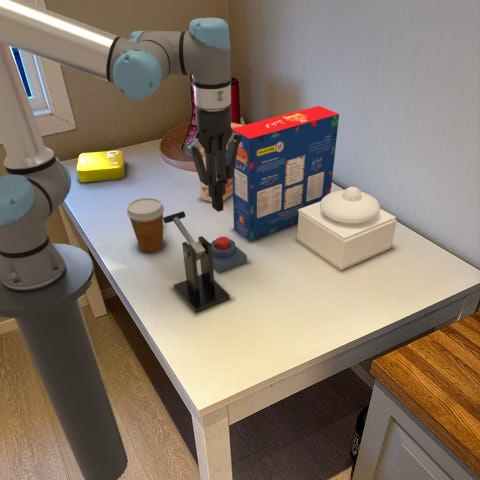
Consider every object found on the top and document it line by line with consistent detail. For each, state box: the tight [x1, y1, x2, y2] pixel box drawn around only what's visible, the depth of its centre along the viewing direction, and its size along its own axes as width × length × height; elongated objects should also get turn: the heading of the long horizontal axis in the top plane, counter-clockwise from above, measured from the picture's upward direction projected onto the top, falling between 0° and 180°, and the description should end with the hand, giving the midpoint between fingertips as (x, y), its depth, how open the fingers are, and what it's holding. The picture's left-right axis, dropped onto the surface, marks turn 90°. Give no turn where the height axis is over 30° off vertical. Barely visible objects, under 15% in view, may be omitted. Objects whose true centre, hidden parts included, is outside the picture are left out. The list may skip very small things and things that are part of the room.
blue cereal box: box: [232, 105, 340, 243], centre depth 130 cm, size 28×8×28 cm, turn 124°
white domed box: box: [296, 186, 398, 271], centre depth 124 cm, size 18×18×16 cm
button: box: [214, 236, 230, 250], centre depth 122 cm, size 4×4×2 cm
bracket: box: [173, 235, 231, 314], centre depth 109 cm, size 11×9×14 cm
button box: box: [209, 238, 248, 273], centre depth 124 cm, size 10×8×4 cm
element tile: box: [76, 149, 126, 183], centre depth 165 cm, size 15×15×5 cm
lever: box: [163, 210, 205, 261], centre depth 108 cm, size 13×5×2 cm, turn 32°
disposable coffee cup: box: [126, 197, 165, 253], centre depth 126 cm, size 10×10×12 cm
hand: (217, 208), depth 116 cm, fingers closed
